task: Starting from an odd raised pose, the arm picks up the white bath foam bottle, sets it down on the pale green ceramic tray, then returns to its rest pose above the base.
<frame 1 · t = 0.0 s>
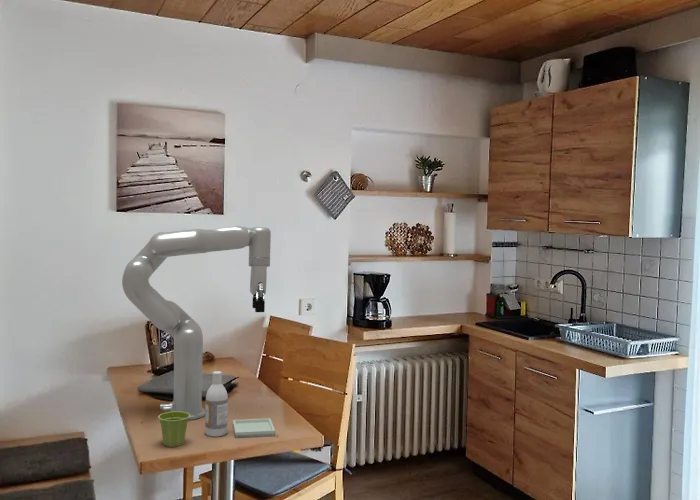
hand: (258, 310, 229), 37 cm above the table, tool pointing down, fingers open, 9 cm apart
plant pot: (173, 444, 197), on the table
bath foam: (216, 434, 207), on the table
tray: (253, 430, 211), on the table
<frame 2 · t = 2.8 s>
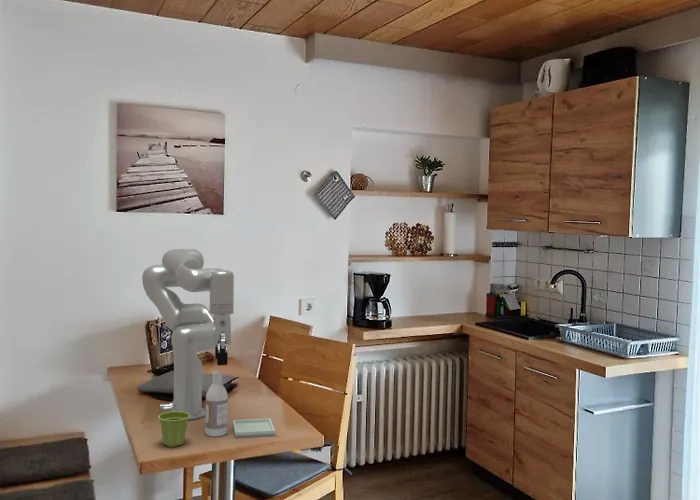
hand: (221, 361, 208), 23 cm above the table, tool pointing down, fingers open, 9 cm apart
nothing on the table moved.
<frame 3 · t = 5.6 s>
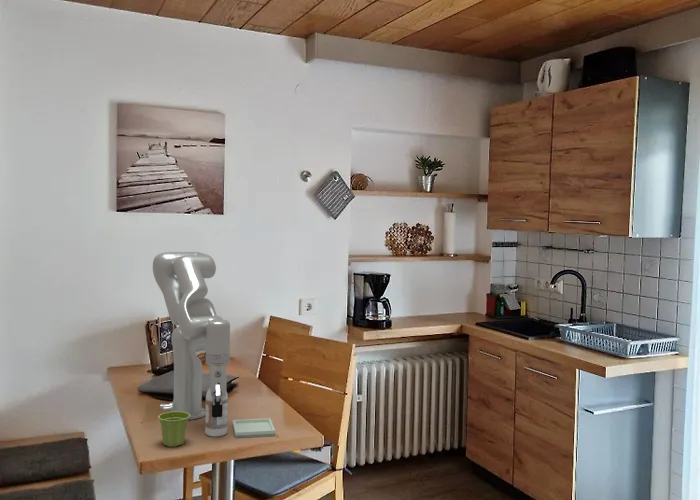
hand: (216, 412, 207), 7 cm above the table, tool pointing down, fingers closed on bath foam, 7 cm apart
bath foam: (216, 434, 207), on the table, touching gripper
everything else where it was.
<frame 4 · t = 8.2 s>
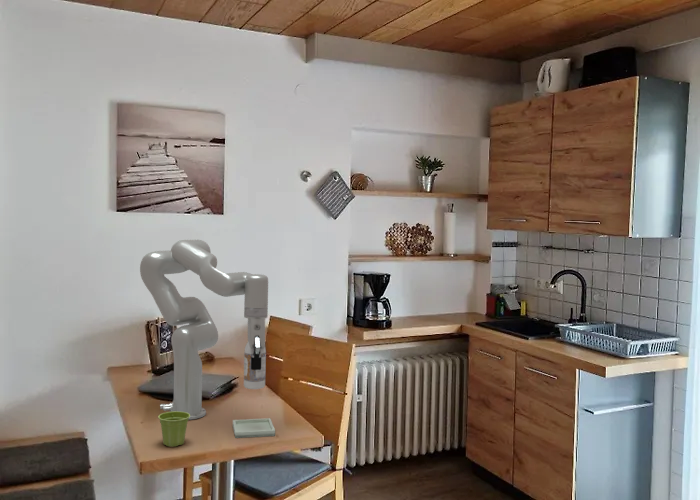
hand: (254, 366, 210), 21 cm above the table, tool pointing down, fingers closed on bath foam, 7 cm apart
bath foam: (254, 387, 210), point 14 cm above the table, touching gripper
everything else where it was.
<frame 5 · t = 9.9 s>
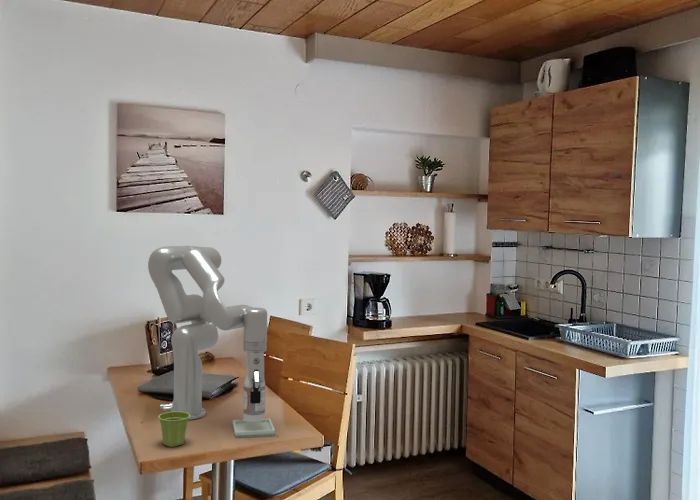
hand: (254, 399, 211), 10 cm above the table, tool pointing down, fingers closed on bath foam, 7 cm apart
bath foam: (253, 420, 211), point 3 cm above the table, touching gripper
everything else where it was.
when the fingers open (9 cm above the table, at t = 11.2 s): bath foam drops 2 cm, resting on tray.
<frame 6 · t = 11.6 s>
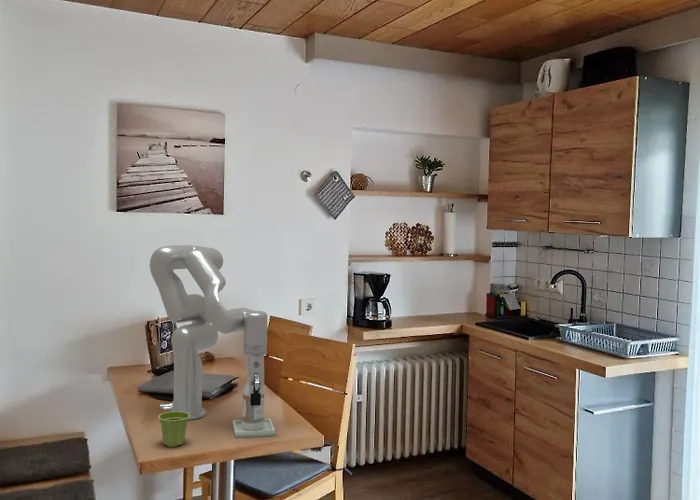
hand: (254, 401, 211), 10 cm above the table, tool pointing down, fingers open, 9 cm apart
bath foam: (252, 428, 211), point 1 cm above the table, touching tray
everything else where it was.
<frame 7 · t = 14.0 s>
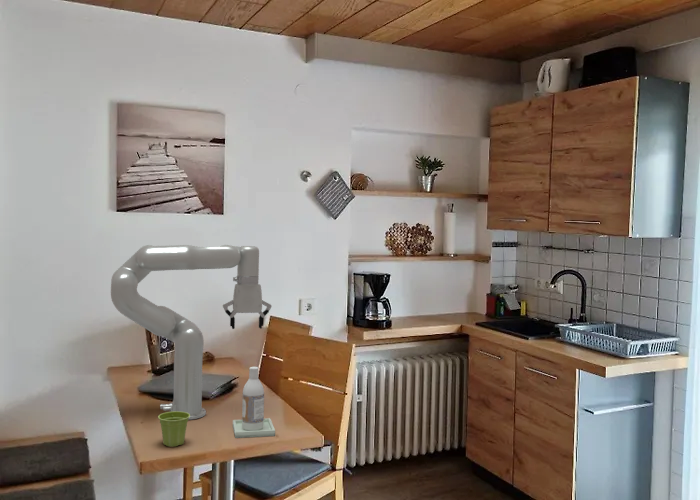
hand: (246, 328, 231), 30 cm above the table, tool pointing down, fingers open, 9 cm apart
nothing on the table moved.
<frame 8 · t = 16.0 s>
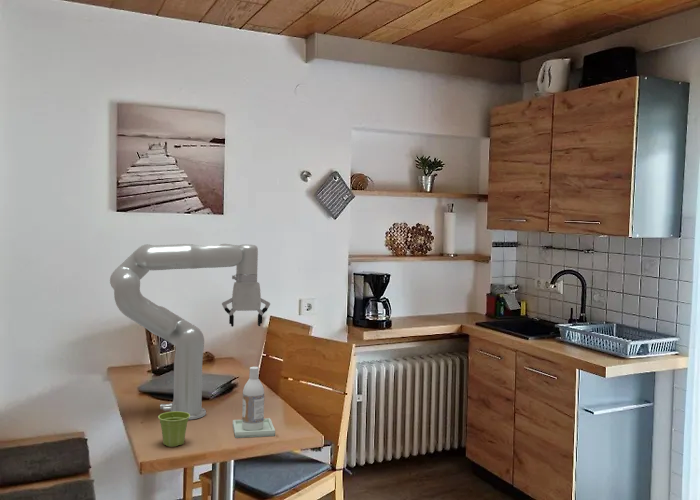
hand: (245, 325, 234), 30 cm above the table, tool pointing down, fingers open, 9 cm apart
nothing on the table moved.
at the end: bath foam inside the target area (0.4 cm from its centre), point 0.6 cm above the table; bath foam tilted 0°; the gripper is holding nothing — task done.
